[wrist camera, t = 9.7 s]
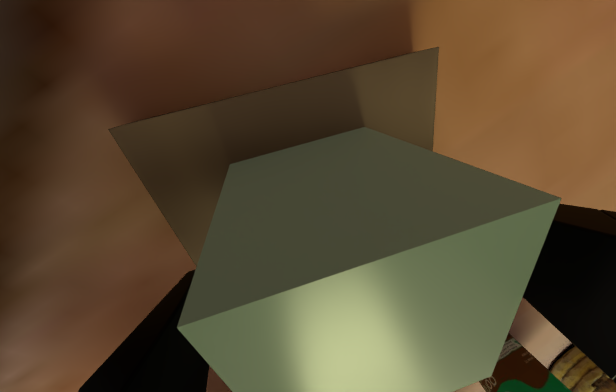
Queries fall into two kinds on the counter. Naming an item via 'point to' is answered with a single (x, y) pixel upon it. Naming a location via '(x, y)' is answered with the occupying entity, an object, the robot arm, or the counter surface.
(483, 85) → the counter surface
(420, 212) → the sage cap
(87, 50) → the counter surface
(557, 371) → the tankard
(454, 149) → the counter surface
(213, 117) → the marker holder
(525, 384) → the food container
